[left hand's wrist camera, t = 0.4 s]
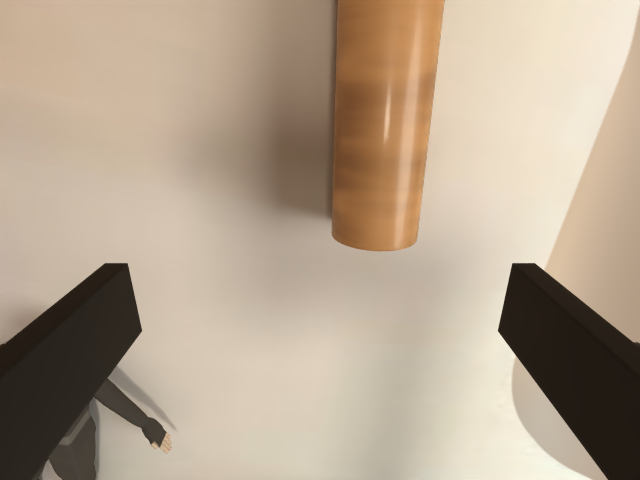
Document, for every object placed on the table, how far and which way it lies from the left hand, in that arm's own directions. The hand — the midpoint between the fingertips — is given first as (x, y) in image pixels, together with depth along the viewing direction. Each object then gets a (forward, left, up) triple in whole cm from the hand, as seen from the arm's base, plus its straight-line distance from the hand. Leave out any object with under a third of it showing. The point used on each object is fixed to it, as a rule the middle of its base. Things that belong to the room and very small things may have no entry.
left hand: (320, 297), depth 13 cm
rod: (+8, -5, -23) cm, 25 cm away
